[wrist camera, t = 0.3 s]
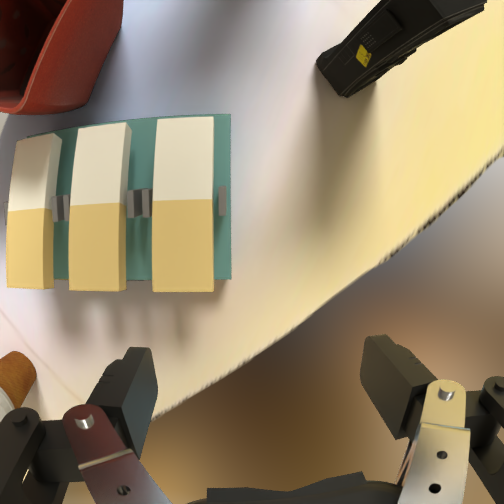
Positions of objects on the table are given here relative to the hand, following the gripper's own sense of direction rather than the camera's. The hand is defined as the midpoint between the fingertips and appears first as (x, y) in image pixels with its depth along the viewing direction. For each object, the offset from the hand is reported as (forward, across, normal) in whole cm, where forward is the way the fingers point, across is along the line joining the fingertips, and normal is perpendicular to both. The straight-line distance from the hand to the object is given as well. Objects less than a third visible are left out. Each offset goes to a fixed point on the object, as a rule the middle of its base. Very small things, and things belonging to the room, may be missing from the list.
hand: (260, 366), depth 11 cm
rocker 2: (+17, +13, -5) cm, 22 cm away
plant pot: (+27, +22, -25) cm, 43 cm away
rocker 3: (+17, +5, -5) cm, 19 cm away
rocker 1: (+17, +21, -5) cm, 28 cm away
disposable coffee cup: (+28, +37, +20) cm, 51 cm away
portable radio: (+27, -14, -21) cm, 37 cm away
